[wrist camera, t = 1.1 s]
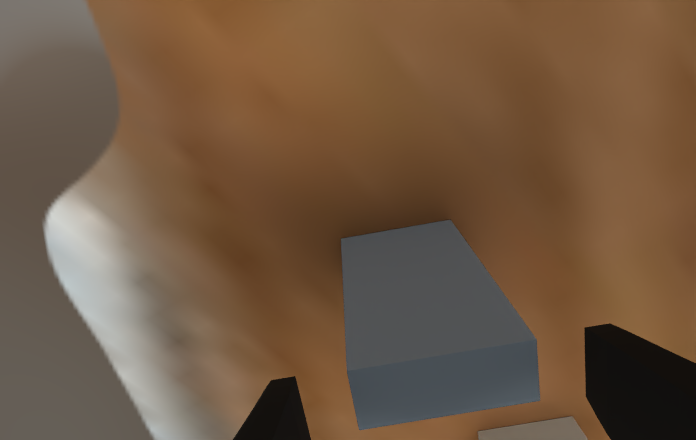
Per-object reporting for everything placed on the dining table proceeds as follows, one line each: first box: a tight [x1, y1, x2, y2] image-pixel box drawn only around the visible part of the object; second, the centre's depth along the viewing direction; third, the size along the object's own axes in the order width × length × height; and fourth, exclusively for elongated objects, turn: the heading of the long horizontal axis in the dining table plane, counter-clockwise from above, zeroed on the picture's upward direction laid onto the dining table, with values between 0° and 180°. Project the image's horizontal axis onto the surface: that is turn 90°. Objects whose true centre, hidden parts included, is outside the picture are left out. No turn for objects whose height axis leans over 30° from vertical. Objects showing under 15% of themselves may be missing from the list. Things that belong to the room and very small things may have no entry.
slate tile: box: [341, 220, 540, 430], centre depth 16 cm, size 2×5×9 cm, turn 100°
